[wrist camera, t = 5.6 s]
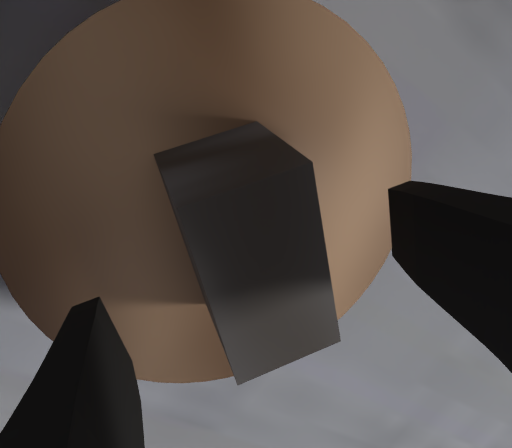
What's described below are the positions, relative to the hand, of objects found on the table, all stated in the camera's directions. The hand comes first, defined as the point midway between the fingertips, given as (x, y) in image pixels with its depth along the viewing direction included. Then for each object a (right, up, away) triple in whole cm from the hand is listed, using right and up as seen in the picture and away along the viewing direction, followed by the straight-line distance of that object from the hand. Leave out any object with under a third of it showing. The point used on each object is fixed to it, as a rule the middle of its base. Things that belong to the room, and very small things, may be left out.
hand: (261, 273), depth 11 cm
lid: (-1, +2, +3) cm, 3 cm away
